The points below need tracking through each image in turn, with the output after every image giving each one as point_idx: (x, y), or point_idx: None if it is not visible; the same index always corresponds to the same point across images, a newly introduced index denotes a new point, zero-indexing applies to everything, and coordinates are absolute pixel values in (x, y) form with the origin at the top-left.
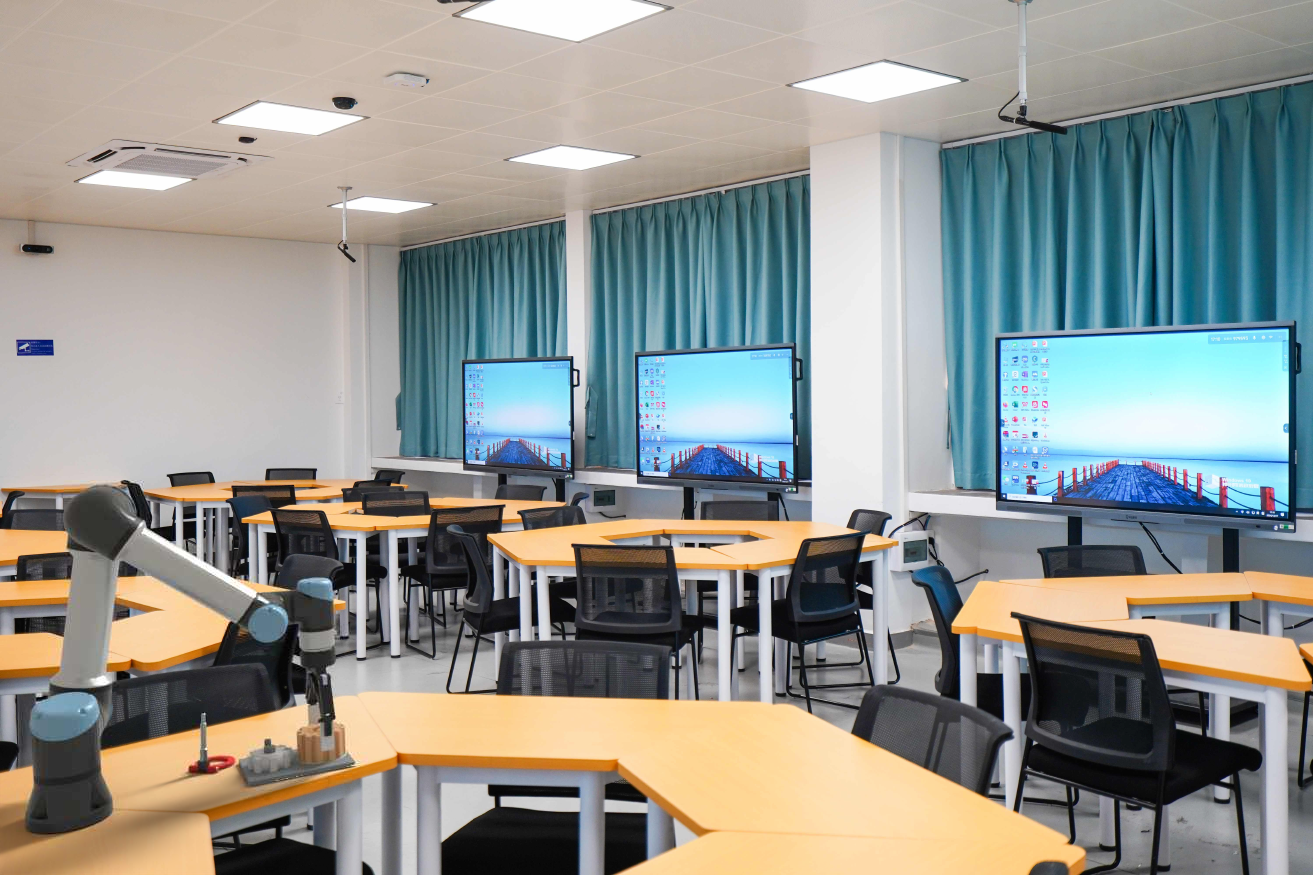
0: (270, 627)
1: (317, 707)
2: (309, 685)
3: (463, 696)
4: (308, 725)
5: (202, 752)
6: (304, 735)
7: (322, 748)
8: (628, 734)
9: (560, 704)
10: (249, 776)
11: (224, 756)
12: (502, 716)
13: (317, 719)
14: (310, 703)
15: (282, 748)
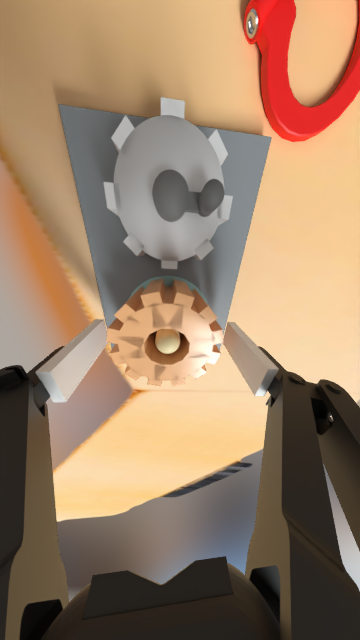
0: None
1: (252, 381)
2: (287, 576)
3: (263, 446)
4: (217, 330)
5: None
6: (144, 305)
7: (93, 323)
8: (99, 486)
9: (188, 474)
10: (110, 123)
11: (338, 104)
12: (189, 454)
13: (236, 355)
14: (278, 380)
15: (180, 246)
